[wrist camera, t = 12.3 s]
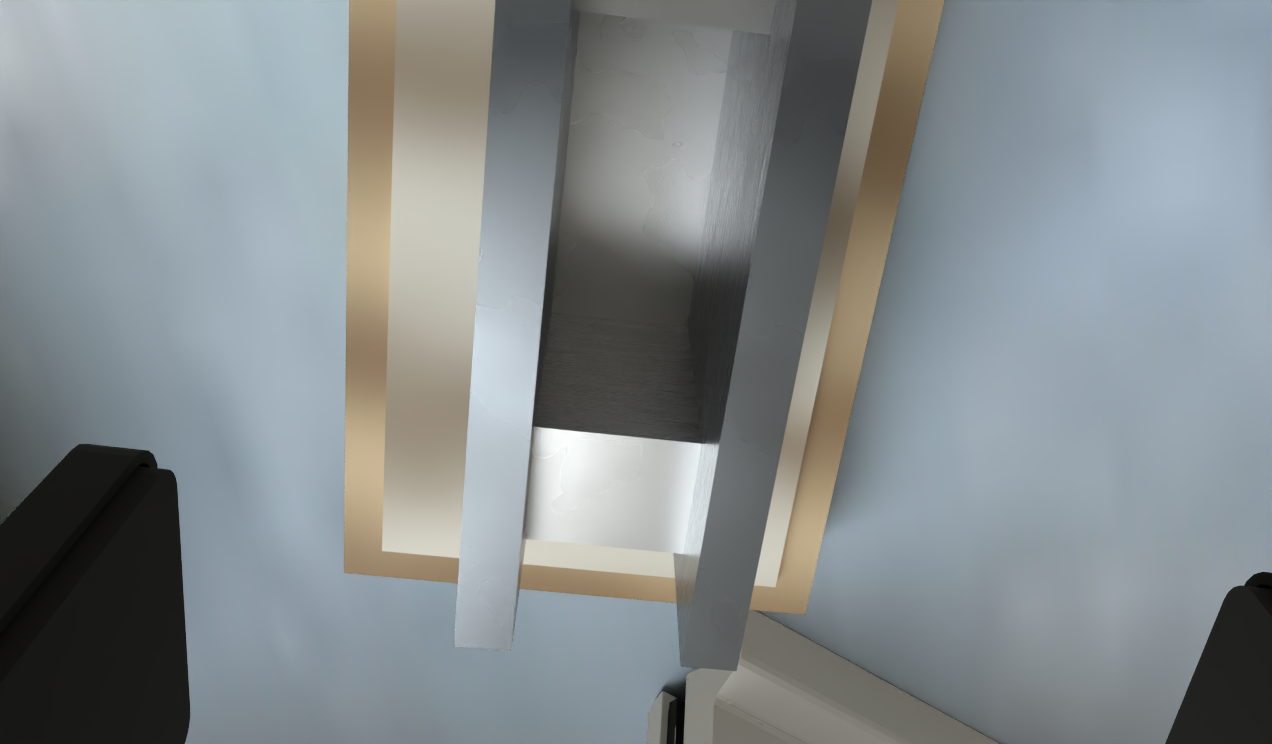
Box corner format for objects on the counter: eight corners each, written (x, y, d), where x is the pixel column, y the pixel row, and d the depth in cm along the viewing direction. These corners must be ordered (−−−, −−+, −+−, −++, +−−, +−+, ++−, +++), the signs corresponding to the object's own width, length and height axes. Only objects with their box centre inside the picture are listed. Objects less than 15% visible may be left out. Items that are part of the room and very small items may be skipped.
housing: (816, -201, 21) (914, -207, 14) (707, 446, 28) (736, 671, 20) (550, -238, 21) (512, -262, 14) (498, 425, 27) (453, 645, 20)
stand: (790, 549, 33) (806, 622, 30) (367, 509, 32) (341, 580, 29) (1007, -468, 22) (1065, -511, 19) (388, -561, 22) (351, -619, 19)
